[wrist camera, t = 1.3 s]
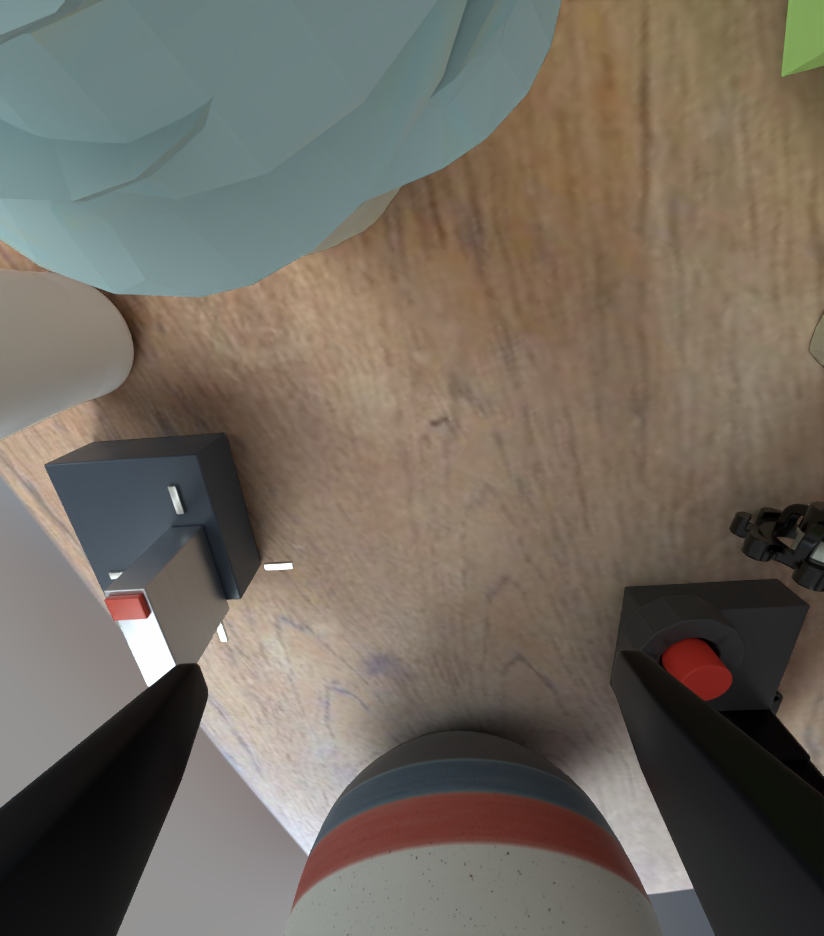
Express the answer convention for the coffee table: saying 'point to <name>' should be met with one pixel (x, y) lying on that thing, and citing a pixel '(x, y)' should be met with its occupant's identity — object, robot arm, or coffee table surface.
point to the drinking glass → (56, 347)
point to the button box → (720, 631)
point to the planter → (467, 850)
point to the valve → (789, 524)
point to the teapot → (803, 36)
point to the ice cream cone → (238, 125)
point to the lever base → (158, 504)
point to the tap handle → (169, 602)
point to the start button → (697, 668)
